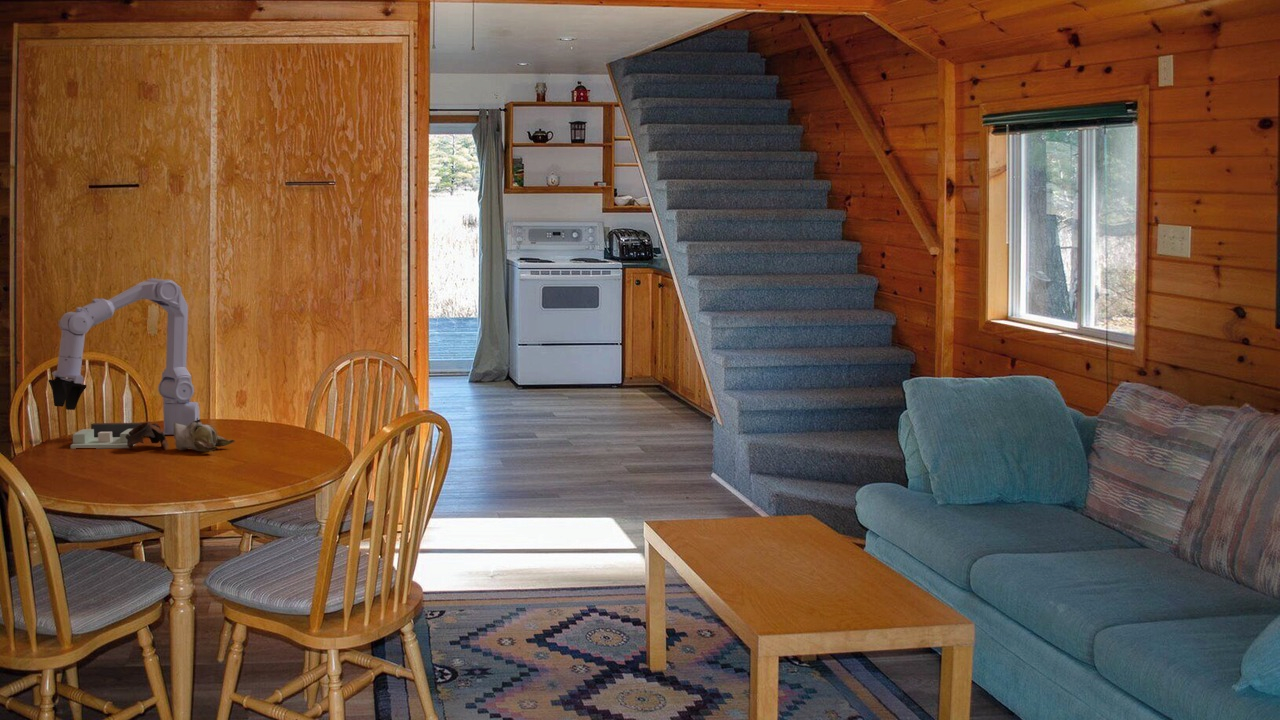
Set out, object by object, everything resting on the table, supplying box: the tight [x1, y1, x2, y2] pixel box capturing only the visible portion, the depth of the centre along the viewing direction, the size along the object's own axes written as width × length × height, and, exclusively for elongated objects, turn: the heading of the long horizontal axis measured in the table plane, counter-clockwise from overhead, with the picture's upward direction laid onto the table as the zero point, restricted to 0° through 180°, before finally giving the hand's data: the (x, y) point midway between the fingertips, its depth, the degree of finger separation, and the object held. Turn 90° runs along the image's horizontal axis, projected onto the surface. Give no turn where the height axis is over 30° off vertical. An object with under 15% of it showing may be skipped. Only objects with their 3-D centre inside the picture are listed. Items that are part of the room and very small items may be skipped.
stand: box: [70, 428, 136, 450], centre depth 332 cm, size 15×11×4 cm
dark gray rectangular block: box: [90, 422, 143, 437], centre depth 344 cm, size 13×7×4 cm, turn 98°
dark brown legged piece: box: [125, 421, 169, 451], centre depth 327 cm, size 12×10×8 cm
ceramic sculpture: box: [173, 419, 236, 453], centre depth 325 cm, size 11×9×15 cm
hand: (64, 408), depth 326 cm, fingers open, 7 cm apart
